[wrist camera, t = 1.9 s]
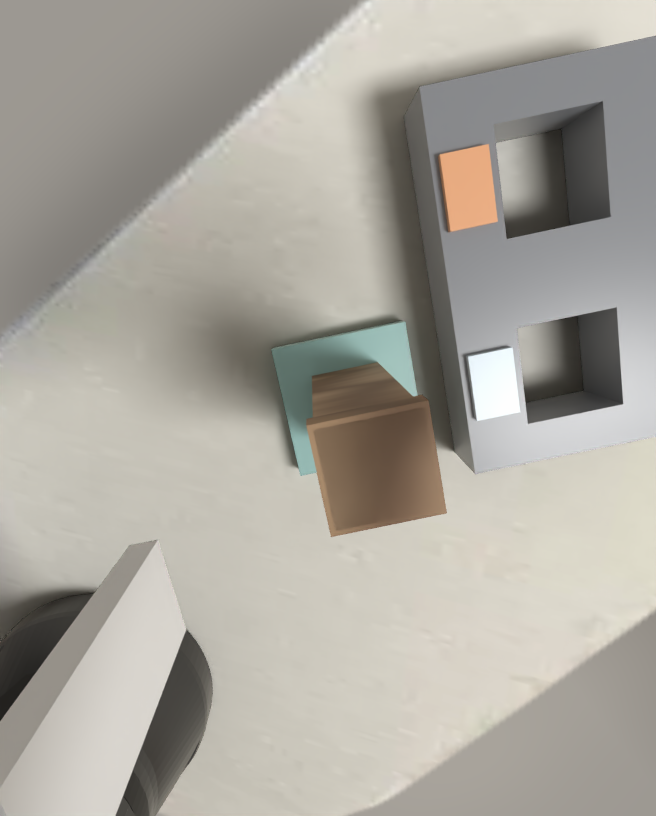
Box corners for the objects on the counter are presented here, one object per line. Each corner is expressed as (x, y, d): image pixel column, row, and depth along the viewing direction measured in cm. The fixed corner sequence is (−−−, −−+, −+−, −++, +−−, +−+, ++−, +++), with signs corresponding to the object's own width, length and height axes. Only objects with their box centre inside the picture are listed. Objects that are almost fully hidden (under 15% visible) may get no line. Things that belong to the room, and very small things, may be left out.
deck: (300, 469, 31) (300, 475, 30) (272, 347, 30) (271, 349, 28) (422, 443, 31) (426, 449, 30) (401, 320, 30) (405, 321, 28)
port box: (454, 452, 32) (477, 476, 27) (403, 116, 27) (421, 83, 23) (636, 414, 31) (688, 433, 27) (616, 71, 27) (674, 28, 23)
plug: (322, 442, 30) (331, 536, 18) (307, 373, 29) (306, 425, 17) (393, 428, 30) (446, 513, 18) (380, 358, 29) (428, 400, 17)
